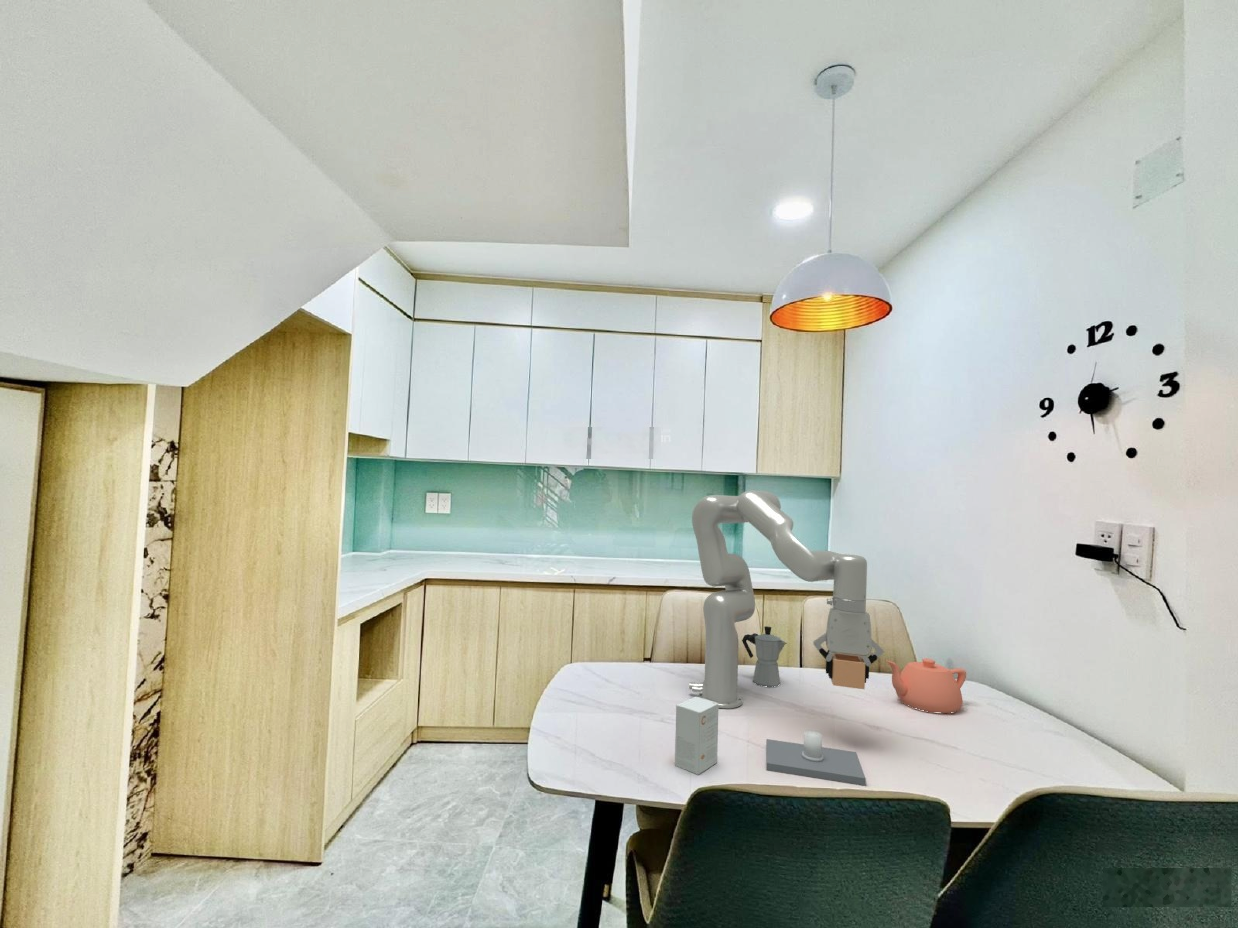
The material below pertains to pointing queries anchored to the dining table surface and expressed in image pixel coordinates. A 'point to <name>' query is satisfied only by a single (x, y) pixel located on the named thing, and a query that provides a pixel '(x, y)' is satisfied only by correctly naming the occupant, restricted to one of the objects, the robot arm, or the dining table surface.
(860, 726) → the dining table surface
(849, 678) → the collar
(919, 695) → the teapot
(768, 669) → the coffee maker
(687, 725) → the small box
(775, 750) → the grey plate with peg
